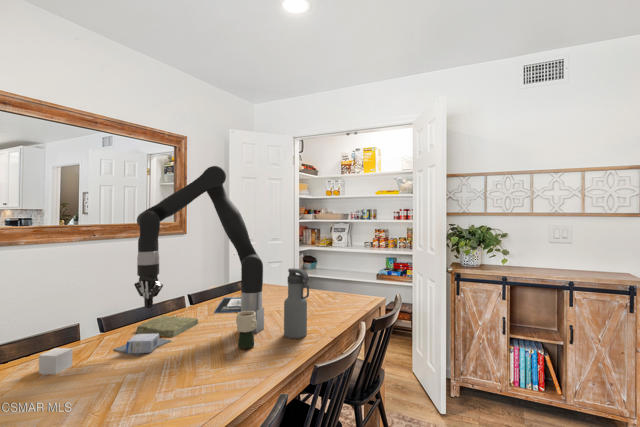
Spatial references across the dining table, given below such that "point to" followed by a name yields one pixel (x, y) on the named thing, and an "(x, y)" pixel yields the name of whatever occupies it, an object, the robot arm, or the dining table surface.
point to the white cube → (55, 361)
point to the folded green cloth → (167, 325)
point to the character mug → (246, 328)
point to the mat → (123, 349)
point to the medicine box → (142, 343)
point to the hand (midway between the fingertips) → (148, 307)
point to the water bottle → (296, 305)
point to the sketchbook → (229, 305)
